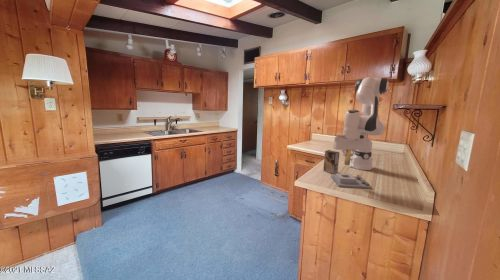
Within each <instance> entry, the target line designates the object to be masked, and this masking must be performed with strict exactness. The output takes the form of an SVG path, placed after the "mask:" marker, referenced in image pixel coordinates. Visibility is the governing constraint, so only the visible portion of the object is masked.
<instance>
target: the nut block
mask: <svg viewBox="0 0 500 280" xmlns="http://www.w3.org/2000/svg"><path fill="white" fill-rule="evenodd" d="M330 178H331V179H332V181H333V182H334V183H335V184H336V186H337V187H338V188H350V189H351V188H352V189H370V190H372V189H373V187H372V186H371V185H370V183H368V181H366V180H365V179H364V178H363V177H362V176H360V174H356V176H354V175H352V173H338V172H337V173H335V174H334V175H333V174H331V175H330Z"/></svg>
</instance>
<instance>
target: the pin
mask: <svg viewBox="0 0 500 280" xmlns="http://www.w3.org/2000/svg"><path fill="white" fill-rule="evenodd" d="M351 152H352V151H351V150H346V151H345V153H346V154H347V156H344V163H343V164H344V165H345V166H349V165H350V158H351V157H352V156H351Z"/></svg>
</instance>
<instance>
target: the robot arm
mask: <svg viewBox="0 0 500 280" xmlns="http://www.w3.org/2000/svg"><path fill="white" fill-rule="evenodd" d="M389 87H390V82H389V79H388V78H385V77H371V76H370V77H369V76H368V77H365V78H360V79H358V80H357V81H356V82H355V84H354V88H355V89H354V90H355V91H356V96H355V98H356V100H357V101H358V102H359V103H361V104H362V107H361V112H360V110H357V109H348V110H346V112H345V116H344V121H343V124H344V128H343V130H342V135H339V134H337V135H336V136H335V137H334V143H333V149H334V150H338V151H339V150H341V152H342V156H343V157H345V156H347V154H346V150H351V157H350V165H348V166H349V168H353V169H355V170H356V169H357V170H361V171H371V170H372V169H374V168H375V167H374V166H373V157H372V155H373V154H372V153H373V152H372V151H373V150H372V148H373V142H372V140H370V139H369V138H368V136H381V135H383V133H384V132H385V128H386V127H385V124H384V123H383V122H382V121H381V120H380V119H379V105H380V95H382V94H384V93H385V92H387V91H388V89H389ZM367 135H368V136H367Z"/></svg>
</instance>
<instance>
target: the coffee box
mask: <svg viewBox="0 0 500 280" xmlns="http://www.w3.org/2000/svg"><path fill="white" fill-rule="evenodd" d="M323 160H324V161H323V172H325V173H330V174H332V175H333V174H334V175H336V173H338V172H339V162H340V152H339V151H335V150H331V149H328V150H325V151H324V159H323Z"/></svg>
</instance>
